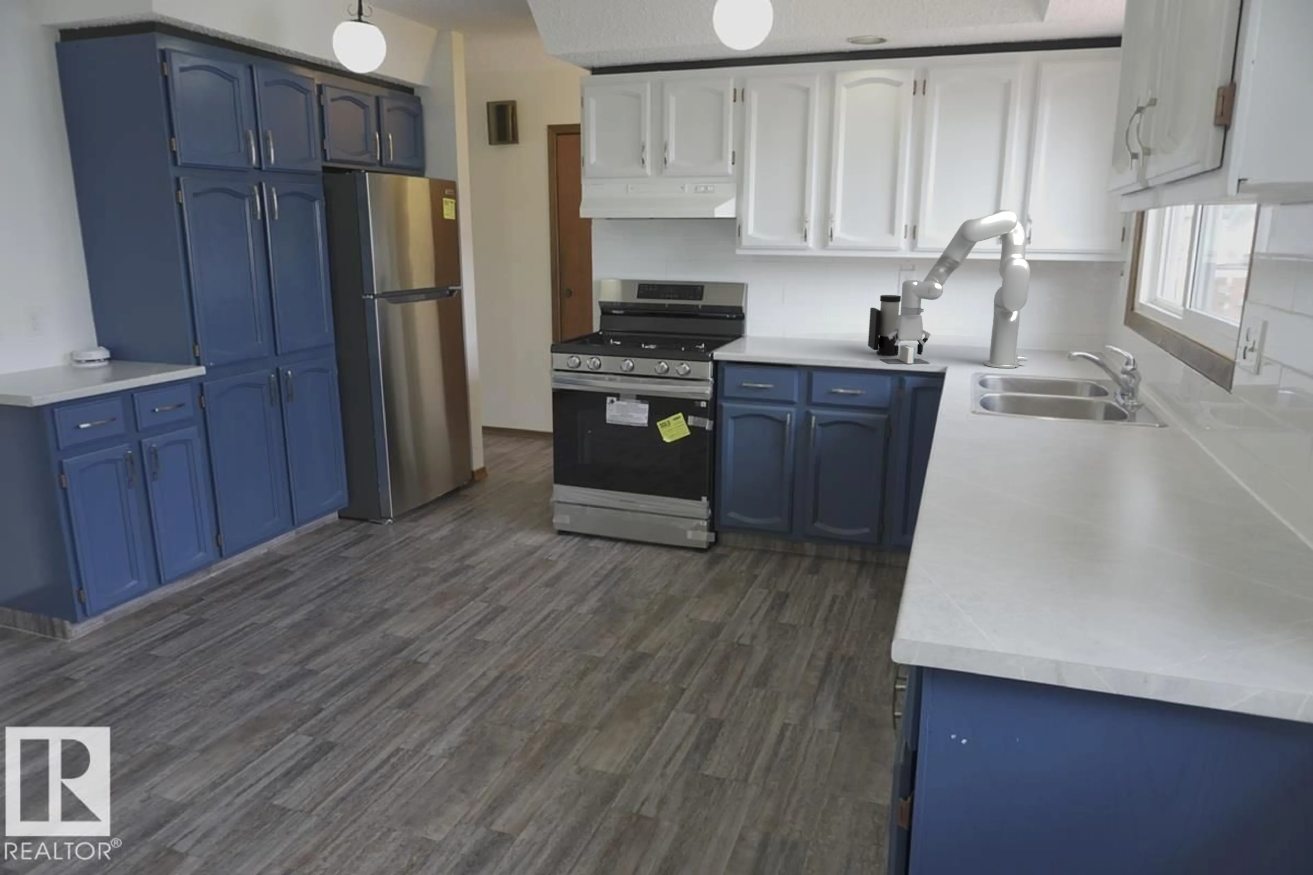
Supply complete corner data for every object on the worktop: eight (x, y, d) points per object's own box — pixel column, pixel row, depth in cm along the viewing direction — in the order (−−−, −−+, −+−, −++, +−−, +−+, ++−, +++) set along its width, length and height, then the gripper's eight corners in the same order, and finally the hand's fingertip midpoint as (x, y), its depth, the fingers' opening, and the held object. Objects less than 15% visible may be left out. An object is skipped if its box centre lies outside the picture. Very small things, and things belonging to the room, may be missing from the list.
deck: (905, 359, 355) (906, 345, 354) (913, 363, 346) (914, 348, 345) (899, 359, 355) (900, 345, 353) (907, 363, 346) (908, 348, 345)
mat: (919, 359, 358) (920, 358, 358) (929, 363, 349) (929, 362, 349) (879, 359, 357) (879, 359, 357) (888, 364, 347) (888, 363, 347)
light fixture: (899, 356, 365) (904, 297, 359) (873, 356, 365) (877, 297, 359) (892, 352, 377) (897, 294, 370) (867, 352, 377) (871, 294, 371)
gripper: (927, 310, 350) (924, 352, 354) (885, 311, 349) (883, 353, 353) (935, 312, 343) (932, 355, 347) (892, 313, 341) (890, 356, 346)
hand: (907, 354), depth 350 cm, fingers open, 9 cm apart
